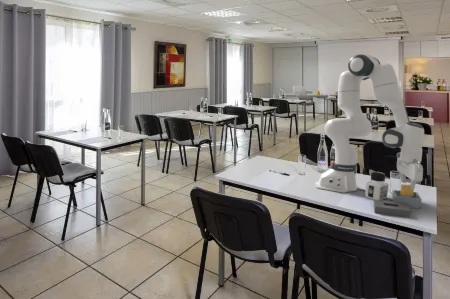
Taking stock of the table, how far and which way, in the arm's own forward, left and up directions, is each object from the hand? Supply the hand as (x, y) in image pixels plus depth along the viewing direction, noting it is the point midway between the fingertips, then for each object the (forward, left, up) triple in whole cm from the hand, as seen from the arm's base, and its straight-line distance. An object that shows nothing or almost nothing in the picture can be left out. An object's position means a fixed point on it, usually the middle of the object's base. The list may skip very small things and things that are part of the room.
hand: (407, 185), depth 163 cm
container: (-13, +4, -9) cm, 17 cm away
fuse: (0, 0, -8) cm, 8 cm away
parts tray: (0, 0, -9) cm, 9 cm away
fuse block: (-8, -14, -9) cm, 19 cm away
